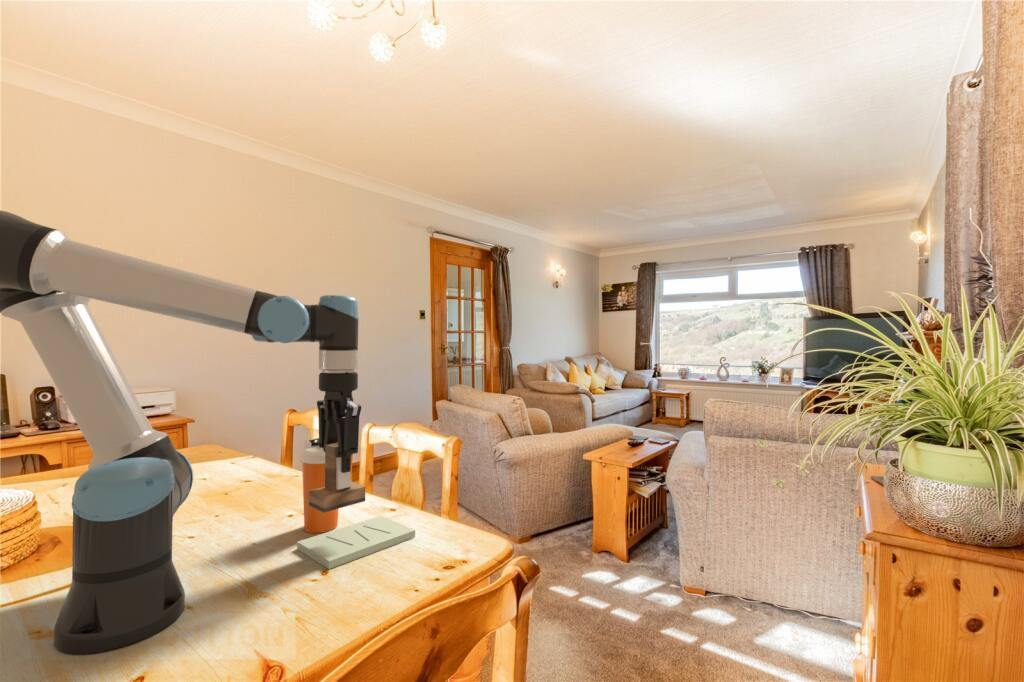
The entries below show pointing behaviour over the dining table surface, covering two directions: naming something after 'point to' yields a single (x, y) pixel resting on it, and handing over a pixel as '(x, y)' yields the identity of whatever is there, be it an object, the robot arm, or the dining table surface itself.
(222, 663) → the dining table surface
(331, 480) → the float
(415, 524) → the dining table surface
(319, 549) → the board
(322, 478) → the shaker bottle
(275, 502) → the dining table surface
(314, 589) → the dining table surface
